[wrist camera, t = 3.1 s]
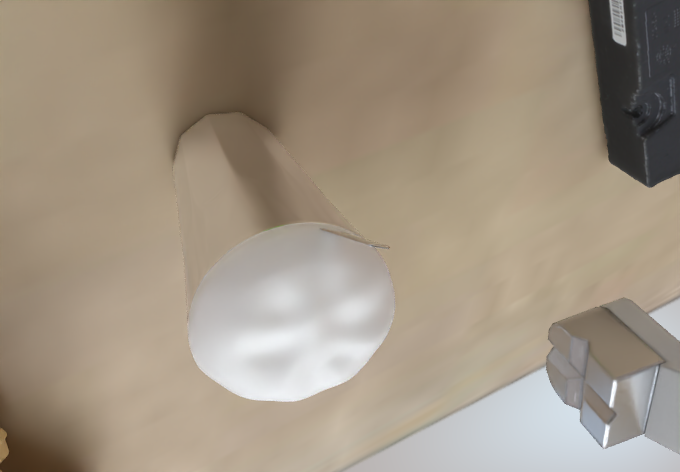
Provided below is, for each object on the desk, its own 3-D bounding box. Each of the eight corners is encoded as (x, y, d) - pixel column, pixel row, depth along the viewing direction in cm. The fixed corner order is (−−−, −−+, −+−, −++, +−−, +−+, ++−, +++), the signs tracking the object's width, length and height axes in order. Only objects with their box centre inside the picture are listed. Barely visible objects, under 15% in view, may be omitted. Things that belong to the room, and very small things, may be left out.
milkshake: (322, 83, 20) (484, 260, 12) (271, 229, 22) (381, 459, 14) (176, 45, 18) (257, 228, 10) (136, 210, 20) (178, 465, 12)
